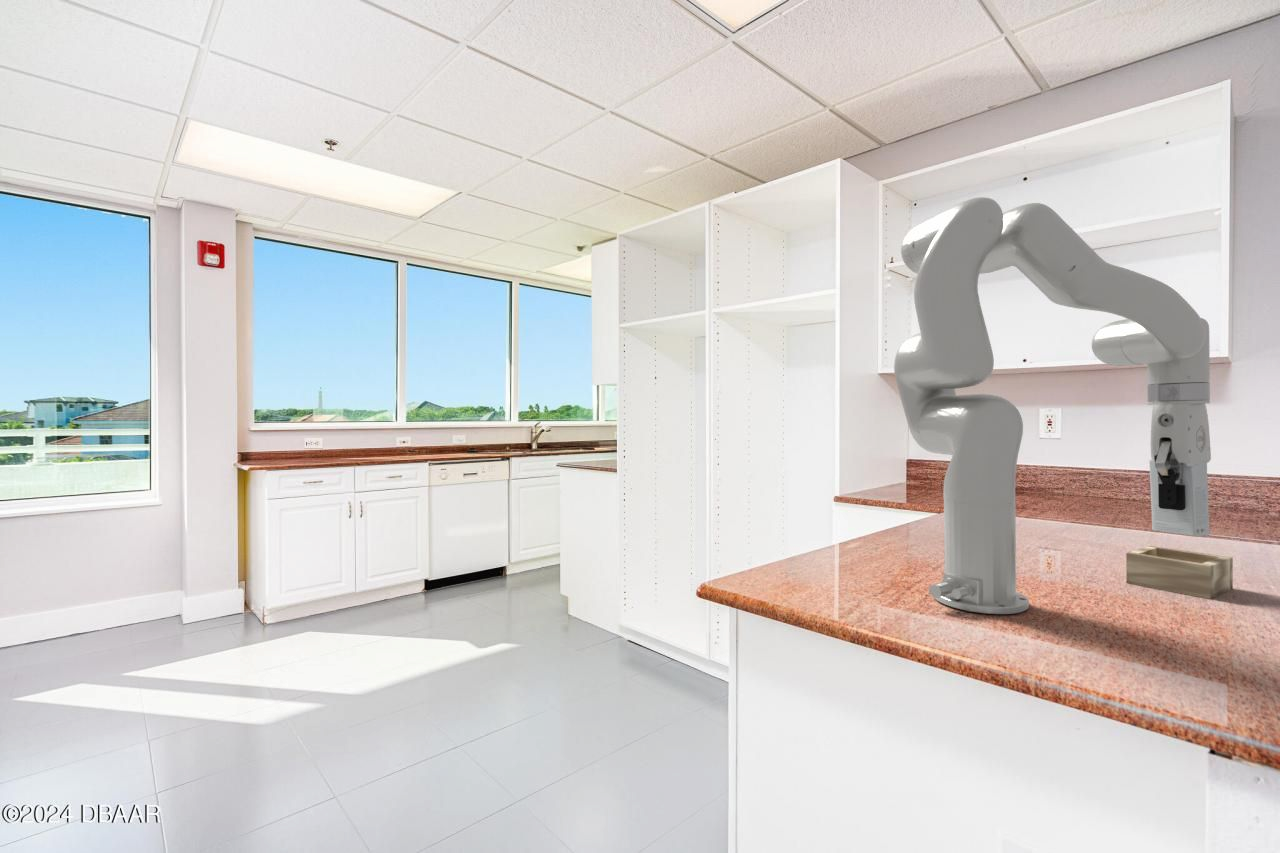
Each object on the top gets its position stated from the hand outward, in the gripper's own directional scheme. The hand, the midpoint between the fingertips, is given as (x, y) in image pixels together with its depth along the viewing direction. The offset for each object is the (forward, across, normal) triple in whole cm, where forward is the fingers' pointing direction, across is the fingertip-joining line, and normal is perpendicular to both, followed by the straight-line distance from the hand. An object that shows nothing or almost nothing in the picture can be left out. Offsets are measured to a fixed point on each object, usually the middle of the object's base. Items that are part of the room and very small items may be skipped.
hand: (1178, 506), depth 97 cm
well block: (+13, 0, 0) cm, 13 cm away
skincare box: (+5, 0, 0) cm, 5 cm away
